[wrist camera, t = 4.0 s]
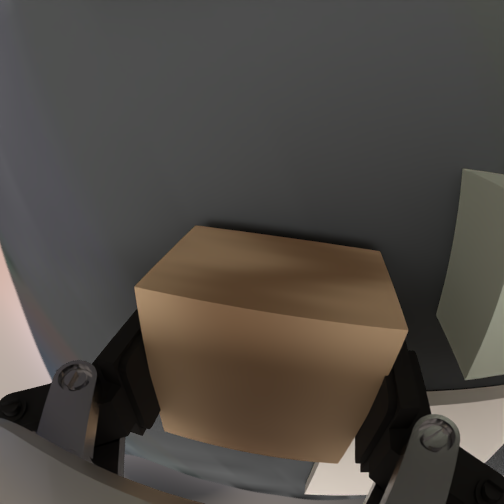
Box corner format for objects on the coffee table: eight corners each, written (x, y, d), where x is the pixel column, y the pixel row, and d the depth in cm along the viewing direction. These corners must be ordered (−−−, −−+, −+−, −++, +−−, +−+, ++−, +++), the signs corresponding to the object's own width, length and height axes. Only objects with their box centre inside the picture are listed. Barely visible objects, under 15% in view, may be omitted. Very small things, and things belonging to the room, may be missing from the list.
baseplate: (541, 378, 12) (547, 389, 11) (462, 473, 17) (463, 482, 16) (341, 390, 14) (342, 406, 13) (305, 483, 19) (304, 493, 18)
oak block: (379, 251, 9) (408, 330, 6) (339, 381, 12) (337, 463, 8) (195, 225, 10) (133, 286, 7) (199, 358, 13) (164, 431, 9)
